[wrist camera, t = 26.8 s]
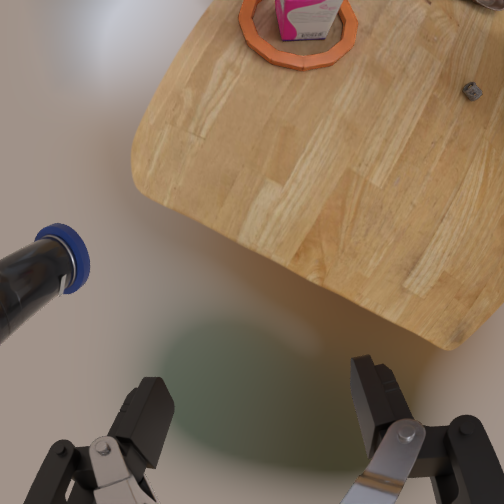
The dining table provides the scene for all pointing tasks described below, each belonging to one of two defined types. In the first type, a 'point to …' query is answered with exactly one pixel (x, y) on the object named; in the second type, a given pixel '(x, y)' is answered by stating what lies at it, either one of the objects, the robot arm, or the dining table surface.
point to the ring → (292, 59)
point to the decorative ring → (472, 91)
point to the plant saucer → (491, 4)
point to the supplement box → (305, 18)
